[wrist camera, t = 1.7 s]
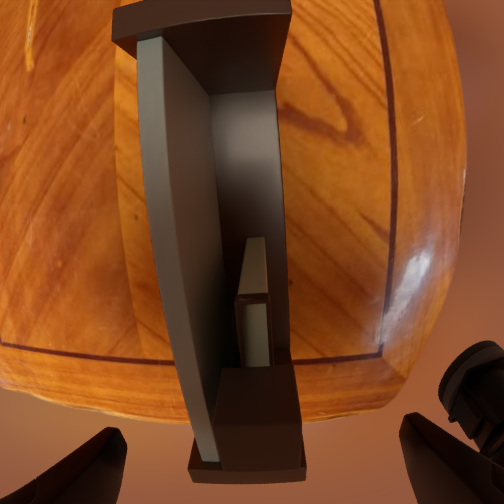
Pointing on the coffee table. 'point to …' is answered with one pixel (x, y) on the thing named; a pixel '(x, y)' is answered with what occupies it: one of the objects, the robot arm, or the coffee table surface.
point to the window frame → (211, 186)
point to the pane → (257, 384)
